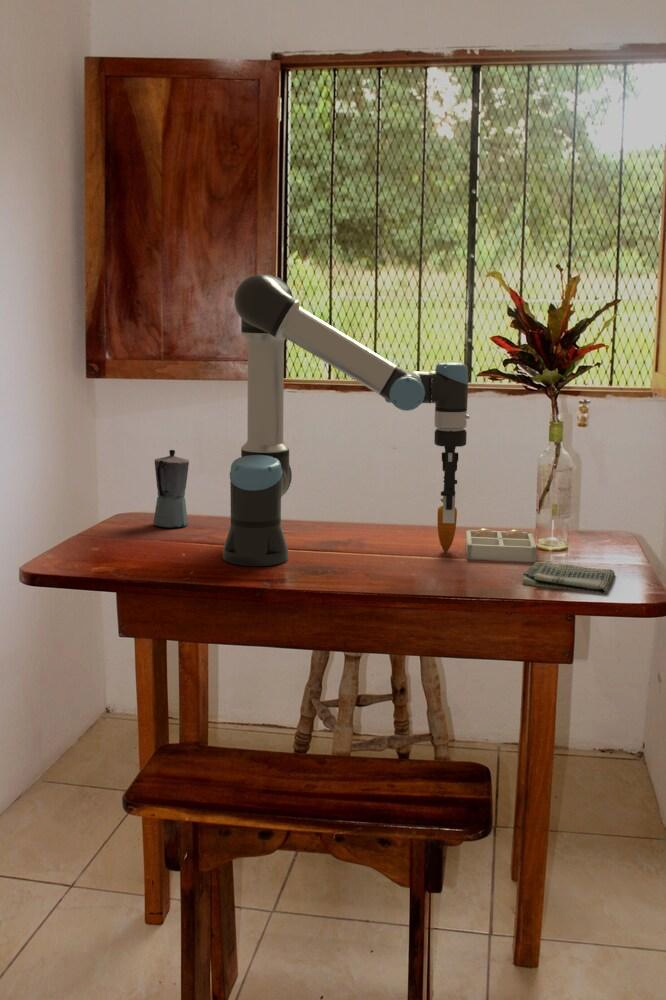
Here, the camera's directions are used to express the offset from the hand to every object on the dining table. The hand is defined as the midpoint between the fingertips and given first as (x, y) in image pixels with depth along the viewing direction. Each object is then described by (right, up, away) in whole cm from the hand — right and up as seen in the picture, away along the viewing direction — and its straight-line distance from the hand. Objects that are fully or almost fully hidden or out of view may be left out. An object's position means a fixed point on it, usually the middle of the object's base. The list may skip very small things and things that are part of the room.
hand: (448, 516), depth 253 cm
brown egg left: (+9, -7, +6) cm, 13 cm away
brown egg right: (+17, -8, +6) cm, 19 cm away
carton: (+13, -9, +2) cm, 16 cm away
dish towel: (+24, -14, -20) cm, 35 cm away
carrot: (0, -9, +2) cm, 9 cm away
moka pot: (-70, -3, +25) cm, 75 cm away
